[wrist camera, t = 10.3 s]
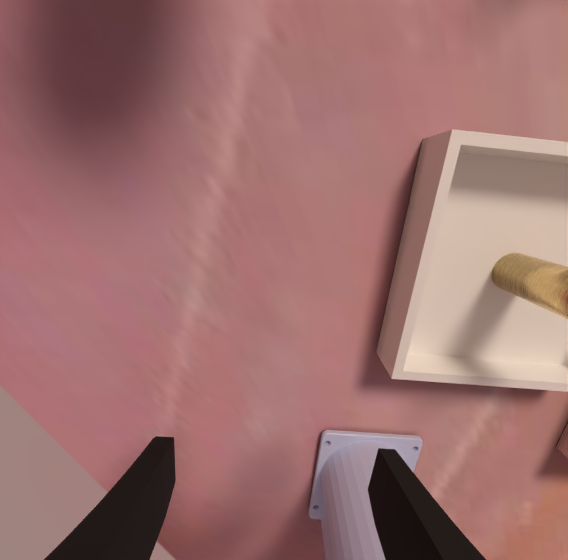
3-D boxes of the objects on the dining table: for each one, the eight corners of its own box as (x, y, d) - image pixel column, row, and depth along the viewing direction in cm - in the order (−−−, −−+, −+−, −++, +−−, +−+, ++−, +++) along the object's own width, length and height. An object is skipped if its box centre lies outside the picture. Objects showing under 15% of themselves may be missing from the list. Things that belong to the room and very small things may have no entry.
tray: (562, 366, 21) (605, 394, 19) (376, 352, 21) (391, 378, 18) (652, 164, 17) (727, 159, 14) (422, 139, 17) (452, 129, 14)
